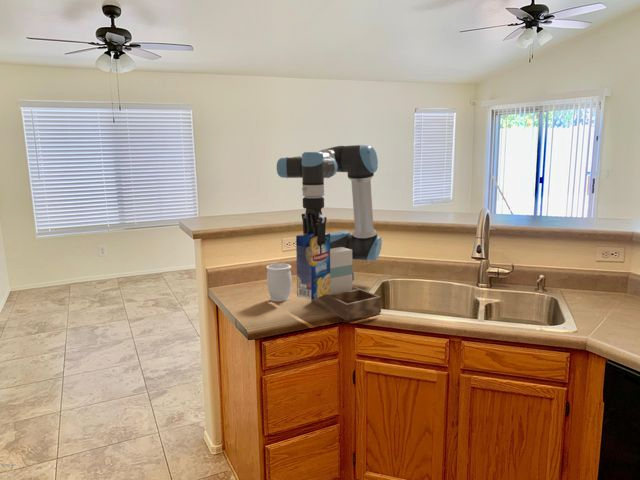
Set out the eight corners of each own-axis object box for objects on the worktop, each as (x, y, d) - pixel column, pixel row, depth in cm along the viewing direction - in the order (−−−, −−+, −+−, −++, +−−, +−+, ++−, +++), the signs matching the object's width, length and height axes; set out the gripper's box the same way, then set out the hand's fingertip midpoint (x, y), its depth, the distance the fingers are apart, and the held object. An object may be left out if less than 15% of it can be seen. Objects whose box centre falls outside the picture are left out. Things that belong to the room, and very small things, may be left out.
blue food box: (330, 292, 170) (330, 233, 166) (312, 300, 162) (311, 237, 158) (315, 289, 174) (315, 231, 170) (297, 296, 166) (296, 235, 162)
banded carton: (342, 298, 195) (342, 246, 190) (352, 302, 189) (352, 249, 185) (320, 303, 189) (319, 250, 185) (329, 307, 183) (329, 253, 179)
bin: (343, 297, 199) (343, 281, 197) (380, 314, 178) (381, 296, 176) (311, 304, 190) (311, 288, 189) (346, 323, 169) (346, 304, 168)
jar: (288, 305, 190) (287, 269, 188) (264, 303, 192) (262, 268, 190) (294, 297, 201) (294, 263, 198) (272, 296, 203) (270, 262, 200)
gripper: (292, 195, 167) (294, 259, 171) (316, 199, 153) (317, 268, 157) (310, 194, 171) (311, 256, 175) (335, 197, 157) (336, 265, 161)
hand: (314, 262), depth 166 cm, fingers closed on blue food box, 3 cm apart
